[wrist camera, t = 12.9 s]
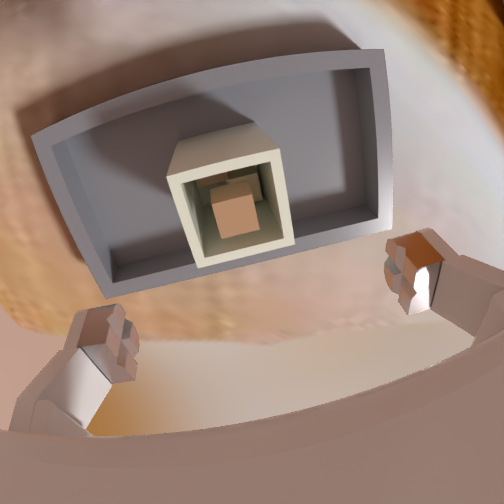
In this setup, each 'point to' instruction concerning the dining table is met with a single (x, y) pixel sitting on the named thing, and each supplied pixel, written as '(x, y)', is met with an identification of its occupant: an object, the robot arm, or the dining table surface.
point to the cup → (230, 194)
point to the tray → (213, 119)
